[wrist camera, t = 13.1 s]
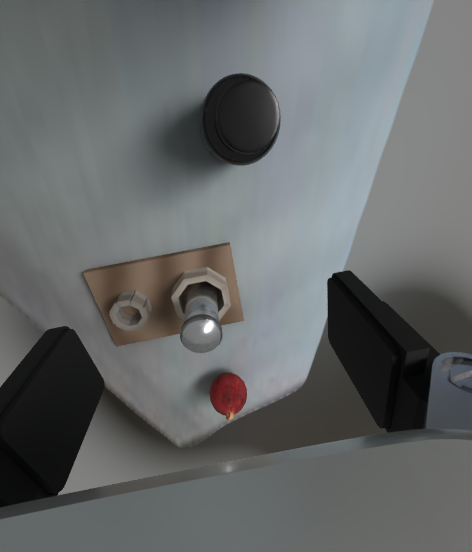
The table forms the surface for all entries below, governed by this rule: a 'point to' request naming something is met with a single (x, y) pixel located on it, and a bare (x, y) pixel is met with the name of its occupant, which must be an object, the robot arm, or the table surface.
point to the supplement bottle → (240, 119)
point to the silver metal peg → (201, 318)
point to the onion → (228, 394)
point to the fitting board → (162, 292)
